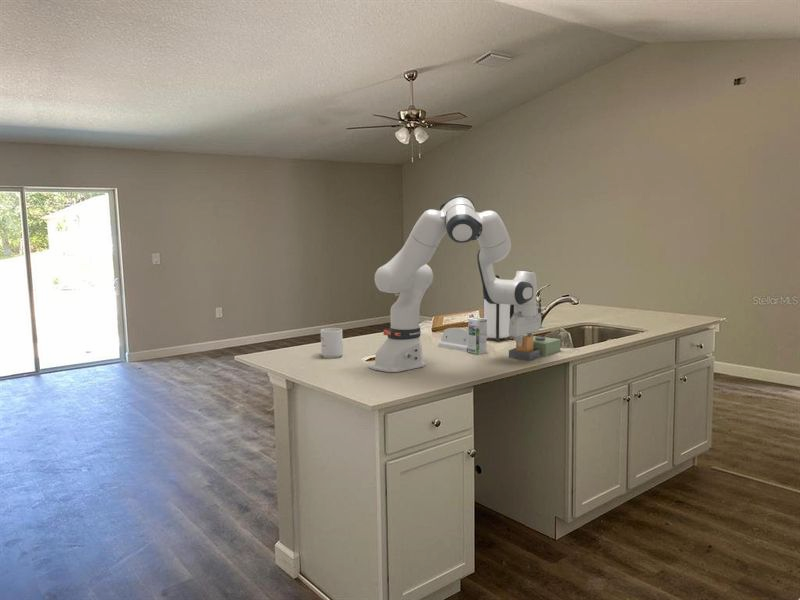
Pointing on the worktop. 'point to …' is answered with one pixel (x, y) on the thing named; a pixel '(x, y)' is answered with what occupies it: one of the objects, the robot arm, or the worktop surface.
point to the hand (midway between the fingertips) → (524, 344)
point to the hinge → (455, 339)
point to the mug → (331, 342)
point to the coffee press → (497, 319)
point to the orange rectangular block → (525, 344)
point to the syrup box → (477, 335)
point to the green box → (546, 345)
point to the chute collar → (524, 354)
